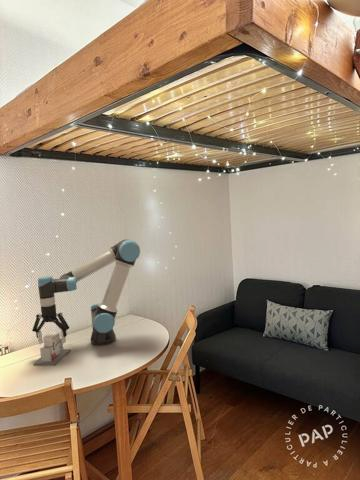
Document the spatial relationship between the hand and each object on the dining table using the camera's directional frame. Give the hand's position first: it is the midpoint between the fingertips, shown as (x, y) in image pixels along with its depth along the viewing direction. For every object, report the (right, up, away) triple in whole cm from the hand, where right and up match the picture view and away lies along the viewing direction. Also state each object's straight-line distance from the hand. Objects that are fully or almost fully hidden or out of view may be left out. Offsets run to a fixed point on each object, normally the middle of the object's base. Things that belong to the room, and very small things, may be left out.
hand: (52, 343), depth 180 cm
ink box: (0, -7, 0) cm, 7 cm away
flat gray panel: (0, -8, 0) cm, 8 cm away
